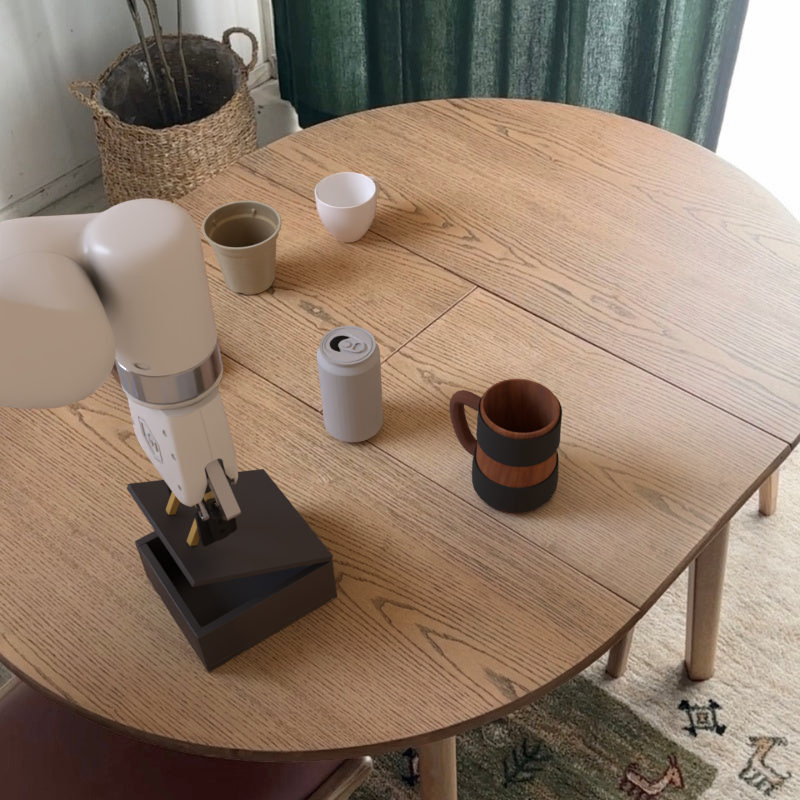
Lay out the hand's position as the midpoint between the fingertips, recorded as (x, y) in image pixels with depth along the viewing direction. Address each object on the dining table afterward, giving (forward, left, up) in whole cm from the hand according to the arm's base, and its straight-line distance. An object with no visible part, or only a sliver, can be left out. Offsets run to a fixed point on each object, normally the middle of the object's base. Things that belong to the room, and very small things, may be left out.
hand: (202, 512), depth 90 cm
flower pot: (+25, +39, -13) cm, 48 cm away
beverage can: (+22, +11, -13) cm, 28 cm away
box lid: (+2, 0, -3) cm, 4 cm away
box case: (+2, 0, -13) cm, 13 cm away
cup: (+41, +40, -13) cm, 59 cm away
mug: (+30, -4, -13) cm, 33 cm away
